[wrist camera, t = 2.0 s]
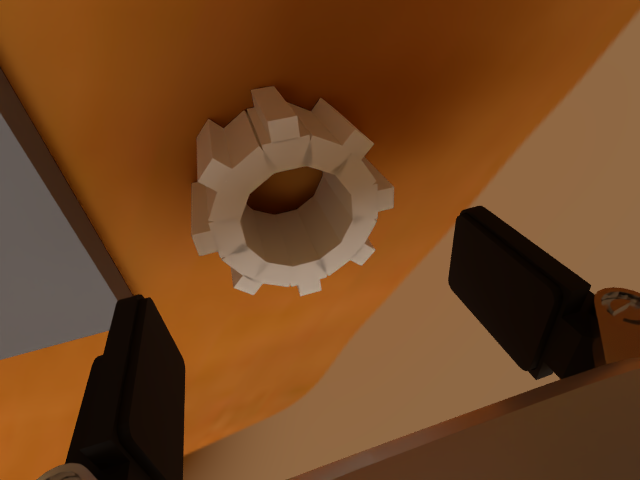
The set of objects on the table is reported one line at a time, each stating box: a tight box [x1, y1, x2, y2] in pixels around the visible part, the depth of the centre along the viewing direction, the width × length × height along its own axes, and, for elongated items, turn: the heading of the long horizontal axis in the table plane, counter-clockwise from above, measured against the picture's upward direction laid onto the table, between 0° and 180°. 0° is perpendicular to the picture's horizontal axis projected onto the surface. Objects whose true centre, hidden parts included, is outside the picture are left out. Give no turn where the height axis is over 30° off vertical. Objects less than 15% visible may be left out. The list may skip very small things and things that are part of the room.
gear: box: [191, 86, 394, 296], centre depth 15 cm, size 7×7×4 cm
